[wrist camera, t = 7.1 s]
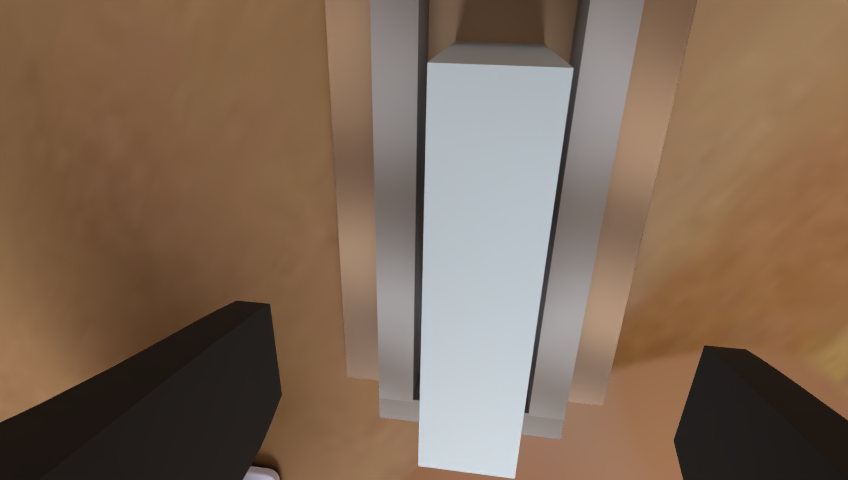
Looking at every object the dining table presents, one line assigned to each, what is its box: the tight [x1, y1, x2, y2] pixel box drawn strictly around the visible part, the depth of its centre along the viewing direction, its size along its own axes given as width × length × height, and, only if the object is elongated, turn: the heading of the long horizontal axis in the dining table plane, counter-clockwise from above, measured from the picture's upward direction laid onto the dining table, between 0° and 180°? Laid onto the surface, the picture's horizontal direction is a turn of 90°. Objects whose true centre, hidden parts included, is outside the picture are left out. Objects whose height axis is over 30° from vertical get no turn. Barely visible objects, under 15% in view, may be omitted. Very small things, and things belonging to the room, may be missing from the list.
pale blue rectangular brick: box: [418, 41, 574, 478], centre depth 13 cm, size 10×2×6 cm, turn 179°
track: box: [325, 0, 697, 439], centre depth 15 cm, size 16×10×3 cm, turn 179°
